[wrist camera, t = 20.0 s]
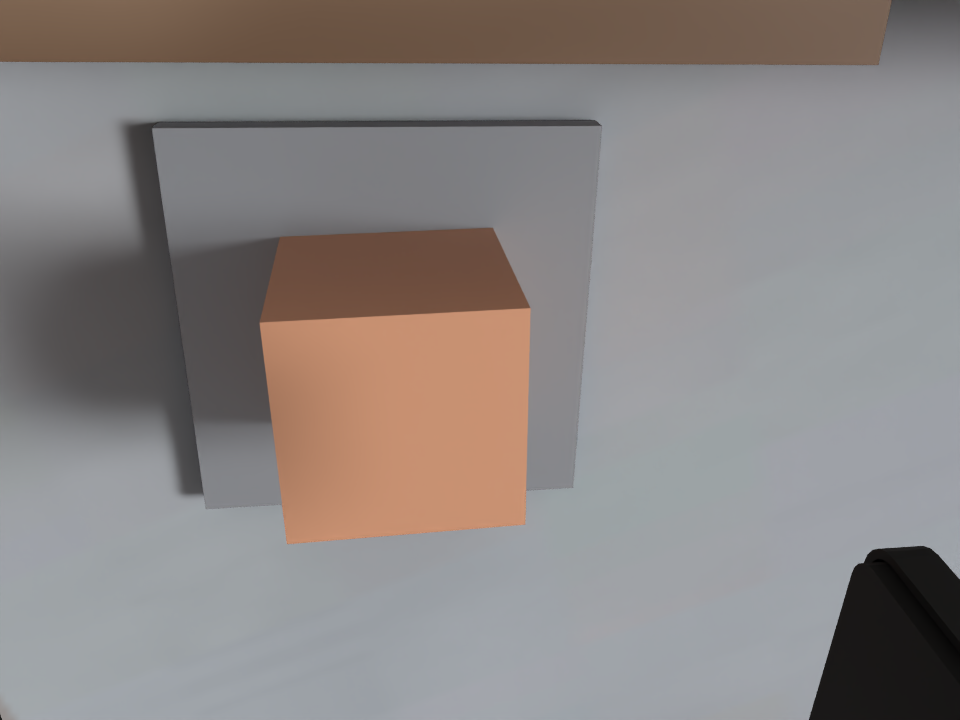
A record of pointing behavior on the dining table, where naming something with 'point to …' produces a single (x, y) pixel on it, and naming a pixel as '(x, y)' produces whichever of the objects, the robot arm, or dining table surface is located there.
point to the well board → (446, 31)
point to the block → (397, 383)
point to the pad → (368, 209)
